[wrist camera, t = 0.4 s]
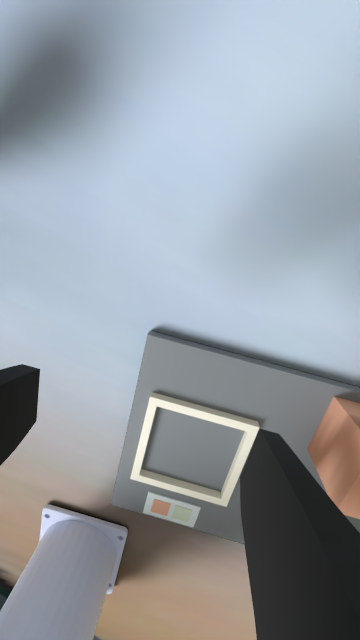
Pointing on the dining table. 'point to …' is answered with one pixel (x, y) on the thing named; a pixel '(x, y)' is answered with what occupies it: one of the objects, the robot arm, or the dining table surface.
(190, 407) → the grey board
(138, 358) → the dining table surface
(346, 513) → the terracotta block
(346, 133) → the dining table surface
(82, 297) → the dining table surface
